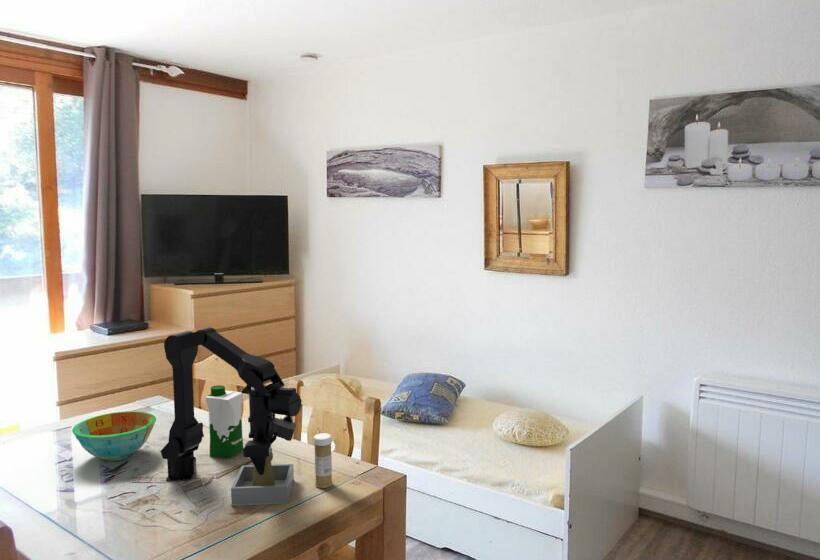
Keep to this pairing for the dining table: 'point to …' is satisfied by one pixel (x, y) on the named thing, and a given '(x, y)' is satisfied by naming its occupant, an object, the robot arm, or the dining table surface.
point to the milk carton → (225, 422)
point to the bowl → (114, 434)
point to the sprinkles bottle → (323, 460)
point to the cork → (267, 477)
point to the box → (262, 487)
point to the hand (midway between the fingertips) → (263, 470)
